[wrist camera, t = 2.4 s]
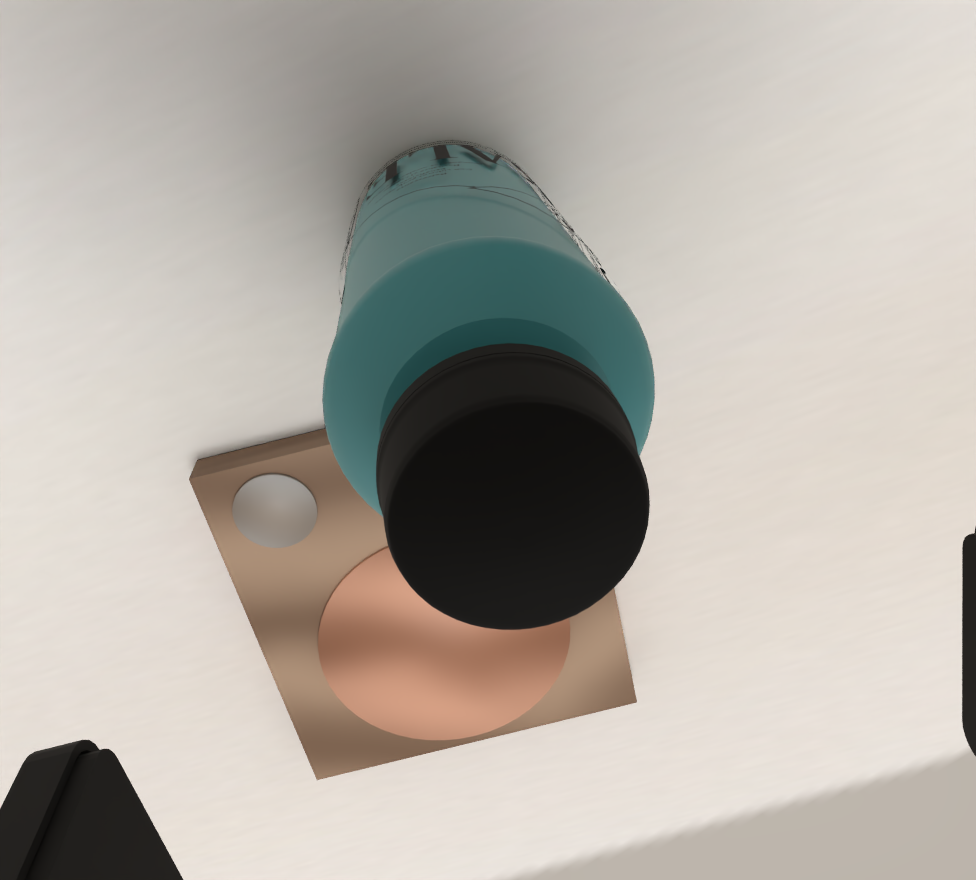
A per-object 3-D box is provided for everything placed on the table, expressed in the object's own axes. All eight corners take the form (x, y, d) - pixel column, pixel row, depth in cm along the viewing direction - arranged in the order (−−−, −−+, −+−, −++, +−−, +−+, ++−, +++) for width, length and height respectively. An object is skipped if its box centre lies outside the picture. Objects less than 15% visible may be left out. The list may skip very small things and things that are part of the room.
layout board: (197, 460, 33) (187, 481, 32) (565, 368, 33) (574, 386, 32) (319, 754, 40) (316, 783, 38) (628, 678, 40) (637, 705, 38)
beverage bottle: (437, 358, 33) (492, 785, 15) (308, 216, 30) (182, 520, 12) (581, 242, 31) (836, 554, 13) (459, 82, 29) (570, 202, 11)
